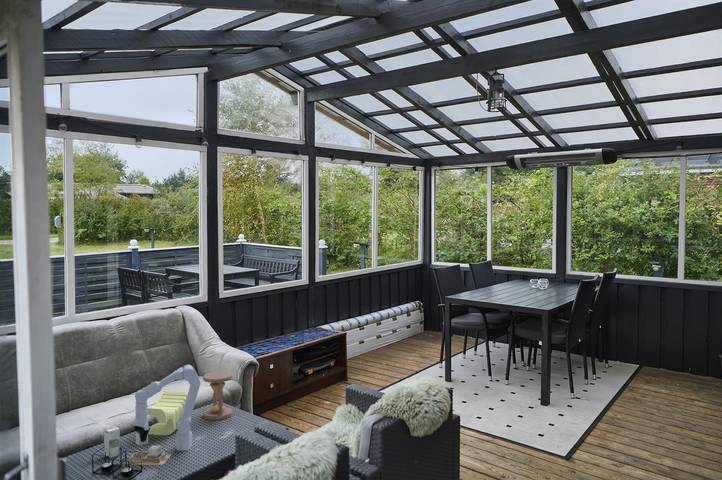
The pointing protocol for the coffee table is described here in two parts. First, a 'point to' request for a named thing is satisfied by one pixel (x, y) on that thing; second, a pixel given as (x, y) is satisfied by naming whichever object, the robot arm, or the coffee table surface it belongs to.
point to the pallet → (148, 459)
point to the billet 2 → (154, 451)
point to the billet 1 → (138, 439)
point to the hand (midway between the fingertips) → (141, 440)
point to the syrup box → (112, 441)
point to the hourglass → (217, 385)
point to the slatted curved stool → (167, 412)
